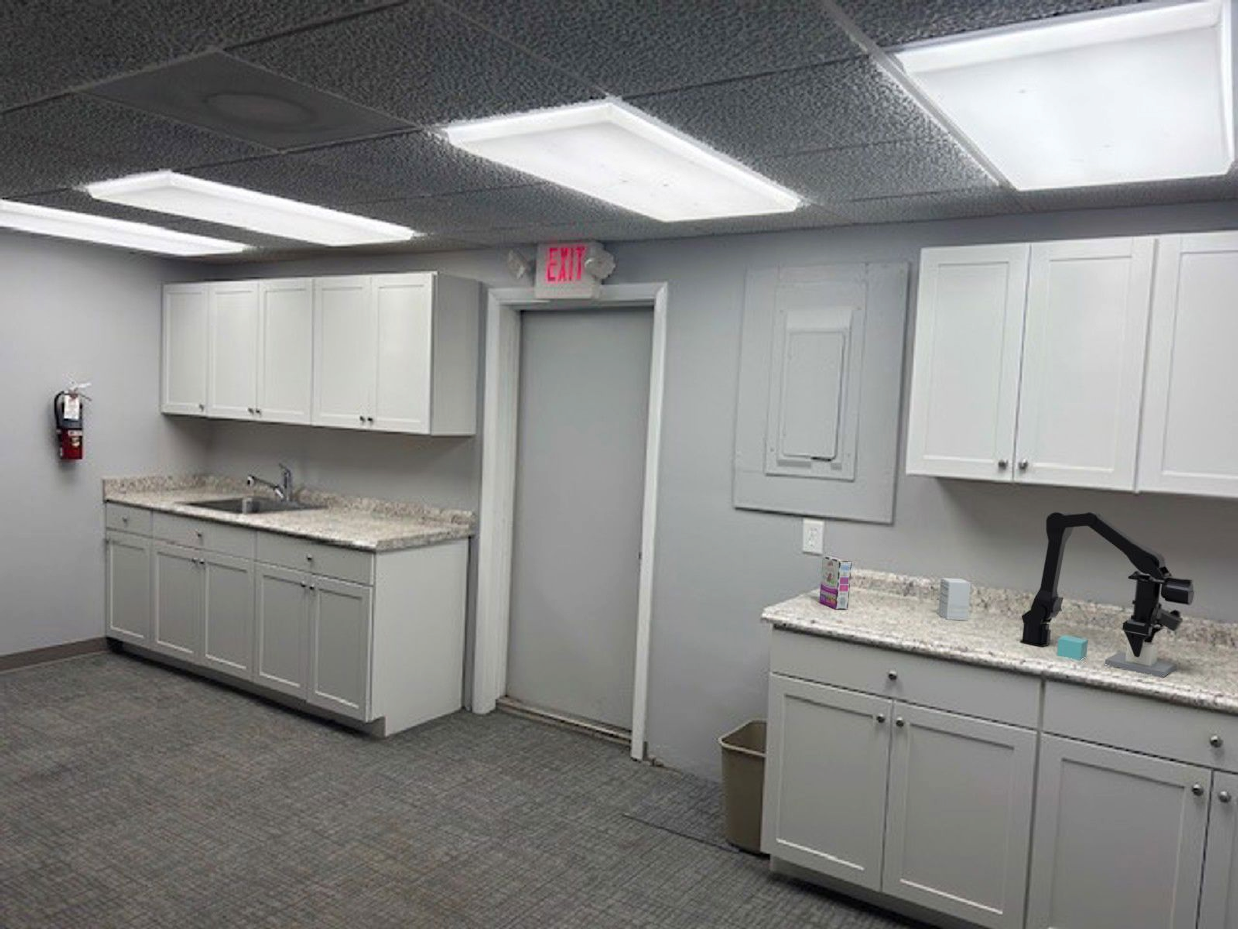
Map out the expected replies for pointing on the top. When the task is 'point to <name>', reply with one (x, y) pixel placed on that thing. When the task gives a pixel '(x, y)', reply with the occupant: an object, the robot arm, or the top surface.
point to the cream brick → (1143, 654)
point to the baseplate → (1141, 665)
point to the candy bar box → (835, 582)
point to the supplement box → (954, 599)
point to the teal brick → (1072, 647)
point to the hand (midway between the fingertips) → (1141, 654)
